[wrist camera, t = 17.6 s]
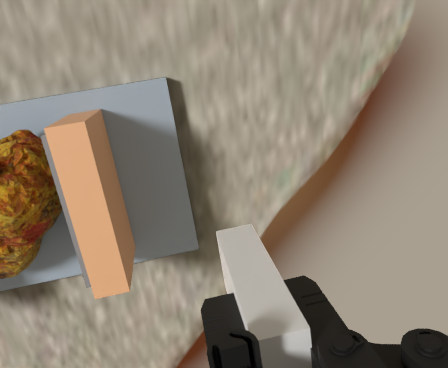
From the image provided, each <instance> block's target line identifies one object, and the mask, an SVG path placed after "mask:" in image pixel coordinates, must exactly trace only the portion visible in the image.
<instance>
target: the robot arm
mask: <svg viewBox="0 0 448 368" xmlns="http://www.w3.org/2000/svg"><path fill="white" fill-rule="evenodd" d="M216 236H217V241H218V247H219V253H220V259H221V264H222V270H223V276H224V282H225V287H226V291H227V294H226V295H222V296H217V297H213V298H208V299H205V301H204V303H203V306H202V308H201V315H202V320H203V326H204V332H205V337H206V343H207V356H208V361H209V365H210V368H448V336H447V335H445V334H443V333H441V332H439V331H435V330H431V329H414V330H411V331H408V332H407V333H406V334H405V335H403V338H402V341H401V344H375V343H370V342H368V341H367V340H366V339H365V338H364V337H363V336H362V335H361V334H359V333H357V332H355V331H353V330H349V329H348V328H347V326H346V325H345V324H344V322H343V321H342V319H341V318H340V316H339V315H338V314H337V312H336V311H335V309H334V308H333V306H332V305H331V304H330V302H329V301H328V299H327V298H326V297H325V295H324V294H323V293H322V291H321V290H320V288H319V286H318V285H317V284H316V282H314V281H313V280H311V279H309V278H308V277H306V276H300V277H296V278H291V279H287V280H283V279H282V277H281V276H280V274H279V272H278V270H277V268H276V267H275V265H274V263H273V261H272V260H271V258H270V256H269V254H268V253H267V251H266V249H265V247H264V245H263V244H262V242H261V240H260V238H259V237H258V235H257V233H256V231H255V229H254V228H253V226H252V224H248V225H243V226H238V227H234V228H229V229H224V230H219V231H216Z"/></svg>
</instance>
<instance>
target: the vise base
mask: <svg viewBox="0 0 448 368" xmlns="http://www.w3.org/2000/svg"><path fill="white" fill-rule="evenodd" d="M97 109H101V111H102V115H103V119H104V123H105V127H106V131H107V135H108V139H109V143H110V147H111V151H112V155H113V159H114V163H115V167H116V171H117V175H118V179H119V183H120V187H121V191H122V195H123V199H124V203H125V207H126V211H127V215H128V219H129V223H130V227H131V231H132V235H133V239H134V243H135V247H136V248H135V256H134V263H136V262H141V261H146V260H150V259H155V258H160V257H165V256H169V255H174V254H179V253H183V252H188V251H193V250H197V249H199V246H198V240H197V235H196V230H195V225H194V220H193V215H192V210H191V204H190V199H189V194H188V189H187V184H186V179H185V173H184V168H183V163H182V158H181V153H180V148H179V142H178V137H177V132H176V127H175V122H174V117H173V112H172V106H171V101H170V96H169V91H168V86H167V81H166V77H163V78H157V79H151V80H145V81H139V82H133V83H127V84H121V85H115V86H109V87H103V88H97V89H91V90H85V91H78V92H72V93H66V94H60V95H54V96H48V97H42V98H36V99H30V100H24V101H18V102H12V103H6V104H0V139H2V138H4V137H7V136H9V135H11V134H12V133H13V132H15V131H17V130H30V131H31V132H32V133H33V134H35V135H36V136H37V137H39V138H40V139H41V137H40V136H41V135H42V134H44V133H45V131H44V128H45V127H47V126H49V125H51V124H53V123H54V122H56V121H58V120H60V119H62V118H64V117H65V116H67V115H69V114H74V113H80V112H86V111H92V110H97ZM80 274H82V271H81V268H80V264H79V261H78V258H77V255H76V251H75V248H74V245H73V242H72V238H71V235H70V232H69V228H68V225H67V222H66V219H65V215H64V212H63V210H62V211H61V213H60V215H59V217H58V219H57V220H56V222H55V224H54V225H53V227H52V228H50V229H49V230H48V231H47V232H46V233H45V234H44V236H43V238H42V241H41V246H40V250H39V252H38V254H37V256H36V257H35V259H34V260H33V262H32V263H31V264H30V265H29V267H28V268H26V269H25V270H23V271H22V272H20V273H19V274H18V275H17V276H14V277H11V278H4V279H0V291H4V290H9V289H14V288H19V287H23V286H28V285H33V284H37V283H42V282H47V281H52V280H56V279H61V278H66V277H70V276H75V275H80Z"/></svg>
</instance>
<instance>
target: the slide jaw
mask: <svg viewBox="0 0 448 368" xmlns="http://www.w3.org/2000/svg"><path fill="white" fill-rule="evenodd" d="M44 131H45V133H44V134H42V135H41V136H40V137H41V140H42V143H43V147H44V150H45V153H46V156H47V160H48V163H49V166H50V170H51V173H52V176H53V179H54V183H55V186H56V189H57V192H58V196H59V199H60V202H61V206H62V209H63V212H64V215H65V219H66V222H67V225H68V228H69V232H70V235H71V238H72V242H73V245H74V248H75V251H76V255H77V258H78V261H79V264H80V268H81V271H82V274H83V278H84V281H85V284H86V287H87V288H88V287H92V291H93V294H94V297H95V299H98V298H102V297H107V296H111V295H116V294H120V293H125V292H130V286H131V278H132V271H133V263H134V256H135V248H136V247H135V243H134V239H133V235H132V231H131V227H130V223H129V219H128V215H127V211H126V207H125V203H124V199H123V195H122V191H121V187H120V183H119V179H118V175H117V171H116V167H115V163H114V159H113V155H112V151H111V147H110V143H109V139H108V135H107V131H106V127H105V123H104V119H103V115H102V111H101V109H97V110H92V111H86V112H80V113H74V114H69V115H67V116H65V117H64V118H62V119H60V120H58V121H56V122H54V123H53V124H51V125H49V126H47V127H45V128H44Z"/></svg>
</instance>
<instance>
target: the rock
mask: <svg viewBox="0 0 448 368" xmlns="http://www.w3.org/2000/svg"><path fill="white" fill-rule="evenodd" d="M62 210H63V209H62V206H61V202H60V199H59V196H58V192H57V189H56V186H55V183H54V179H53V176H52V173H51V170H50V166H49V163H48V160H47V156H46V153H45V150H44V147H43V143H42V140H41V139H40V138H39V137H37V136H36V135H35V134H33V133H32V132H31V131H30V130H17V131H15V132H13V133H12V134H11V135H9V136H7V137H4V138H2V139H0V279H4V278H11V277H14V276H17V275H18V274H19V273H20V272H22V271H23V270H25V269H26V268H28V267H29V265H30V264H31V263H32V262H33V260H34V259H35V257H36V256H37V254H38V252H39V250H40V246H41V241H42V238H43V236H44V234H45V233H46V232H47V231H48V230H49V229H50V228H52V227H53V225H54V224H55V222H56V220H57V219H58V217H59V215H60V213H61V211H62Z"/></svg>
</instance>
